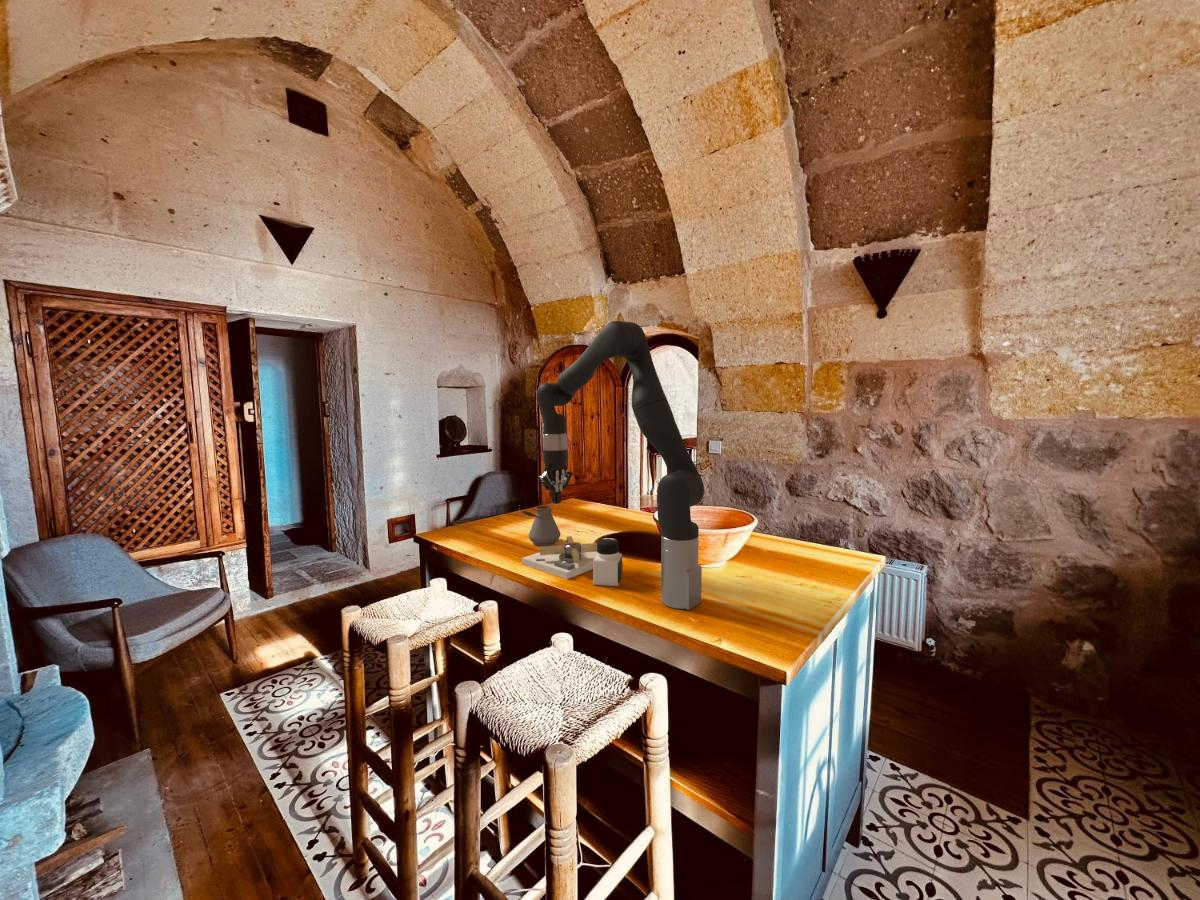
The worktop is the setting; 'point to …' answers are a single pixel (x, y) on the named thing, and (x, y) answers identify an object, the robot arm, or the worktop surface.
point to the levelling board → (560, 564)
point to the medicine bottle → (607, 563)
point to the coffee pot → (543, 526)
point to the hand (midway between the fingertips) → (556, 503)
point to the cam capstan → (569, 550)
